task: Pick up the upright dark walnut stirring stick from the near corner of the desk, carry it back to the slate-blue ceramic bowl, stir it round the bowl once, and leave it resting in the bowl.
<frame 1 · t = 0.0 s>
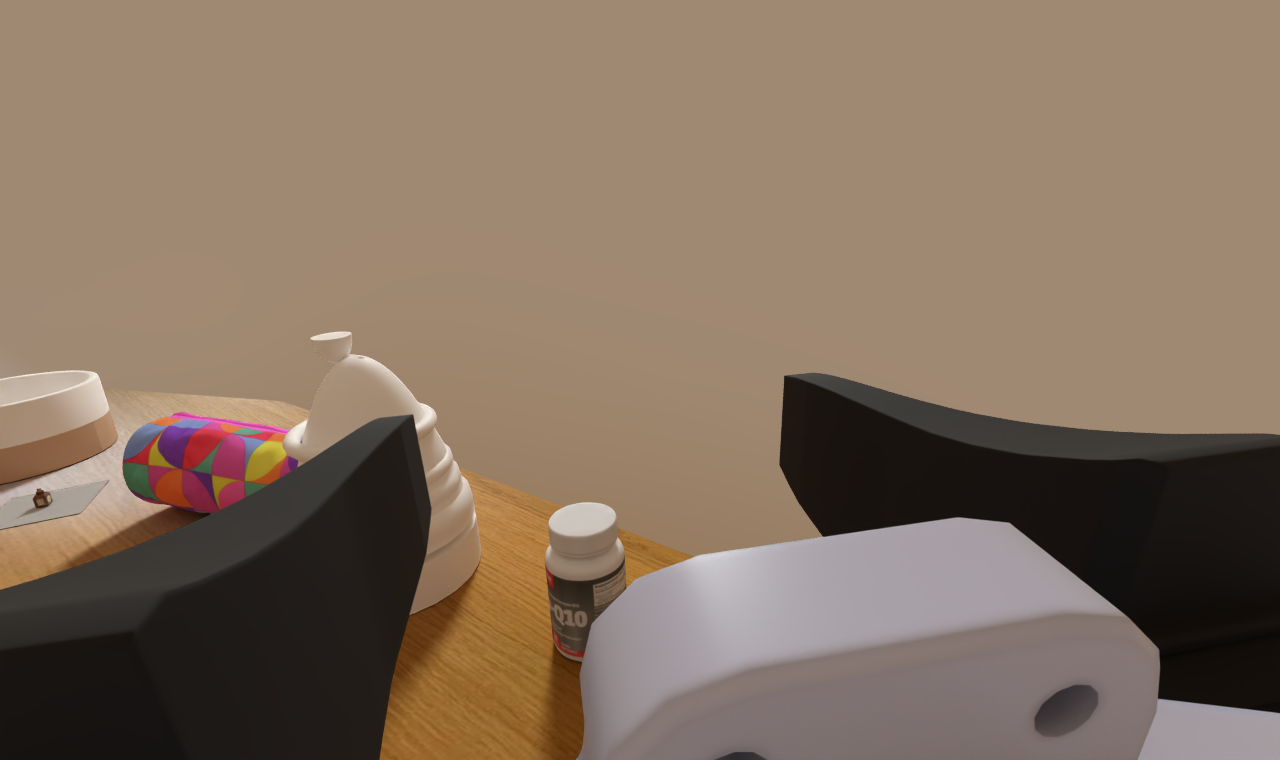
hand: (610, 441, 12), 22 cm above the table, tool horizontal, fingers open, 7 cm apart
honey pot: (395, 570, 46), on the table
grey flat square sheet: (45, 507, 60), on the table
bowl: (26, 459, 72), on the table
pill bottle: (592, 639, 38), on the table
pencil case: (263, 512, 56), on the table
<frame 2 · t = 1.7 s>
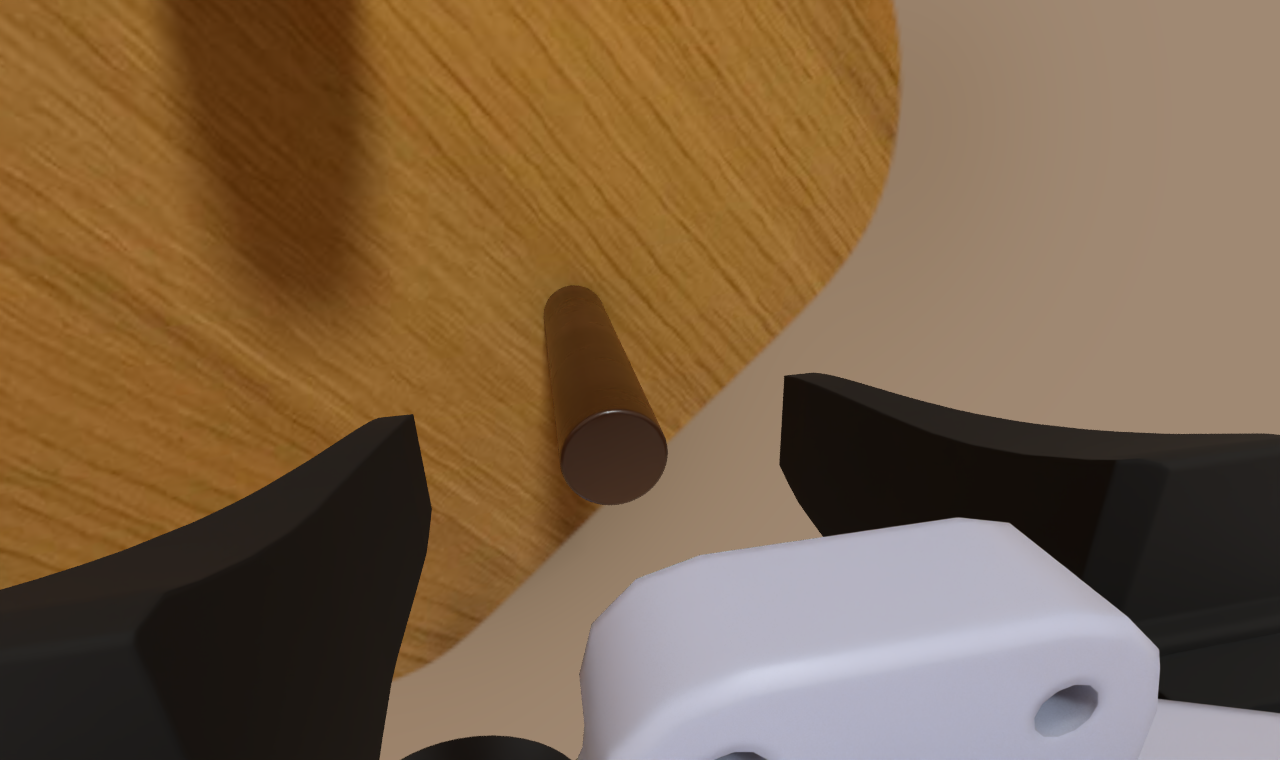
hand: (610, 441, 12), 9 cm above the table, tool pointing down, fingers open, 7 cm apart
stirring stick: (574, 314, 20), on the table
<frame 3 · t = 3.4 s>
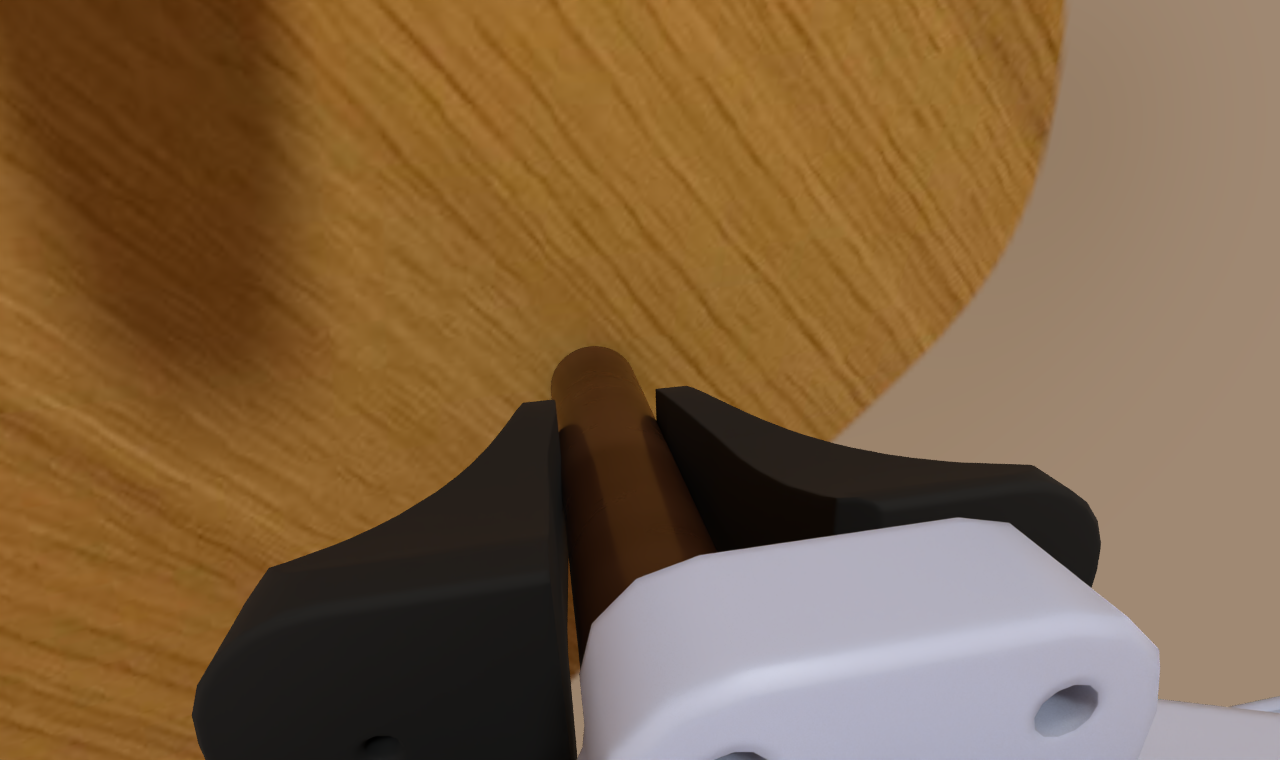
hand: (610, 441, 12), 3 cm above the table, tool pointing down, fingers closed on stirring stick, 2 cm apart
stirring stick: (593, 385, 14), on the table, touching gripper
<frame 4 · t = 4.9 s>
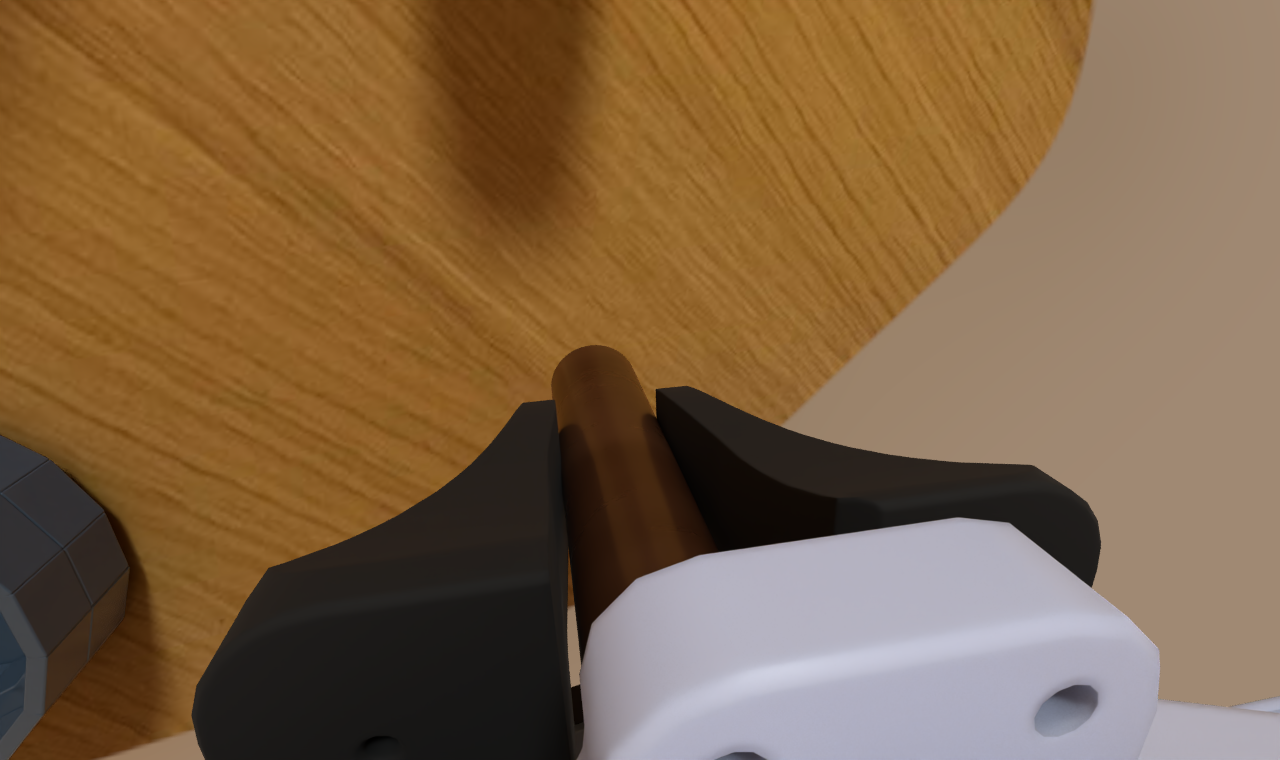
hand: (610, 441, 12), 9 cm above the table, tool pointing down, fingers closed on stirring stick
stirring stick: (593, 384, 14), point 6 cm above the table, touching gripper
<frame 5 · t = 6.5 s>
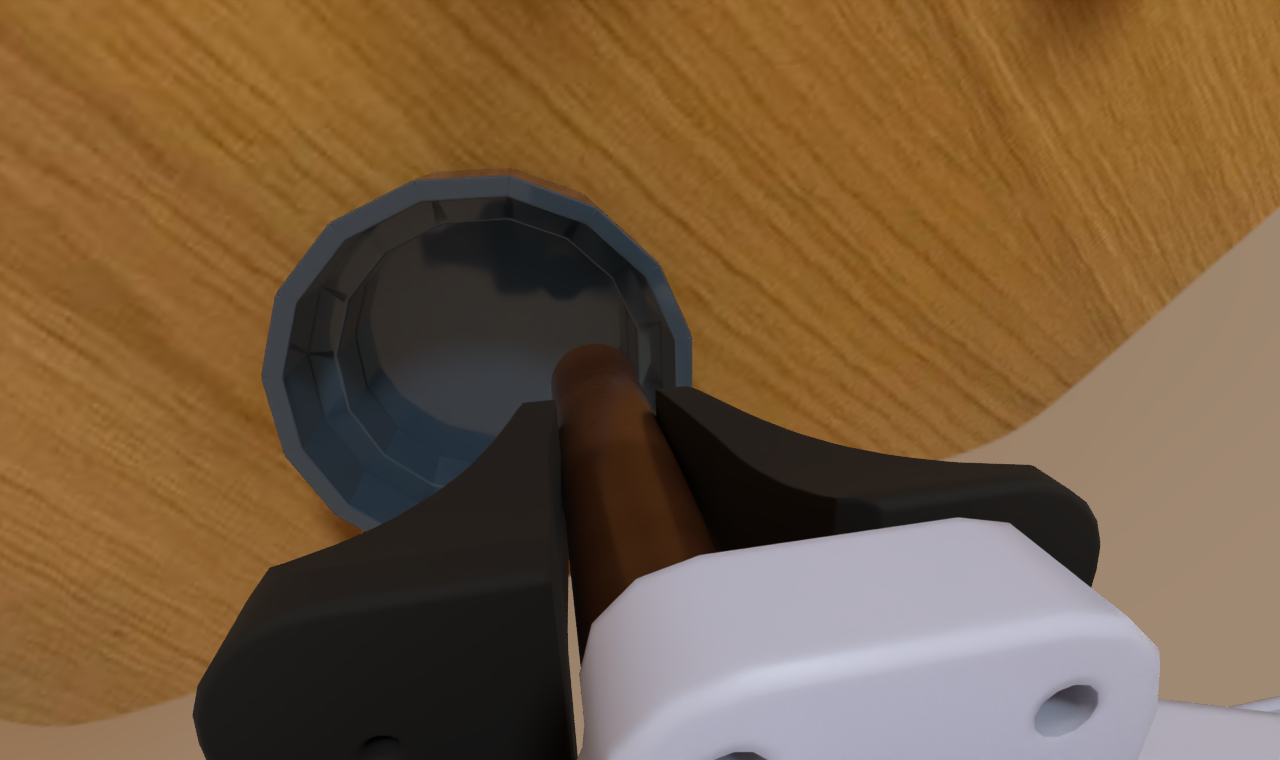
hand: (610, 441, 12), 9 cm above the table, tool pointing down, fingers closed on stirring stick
mixing bowl: (499, 342, 20), on the table
stirring stick: (593, 382, 14), point 7 cm above the table, touching gripper
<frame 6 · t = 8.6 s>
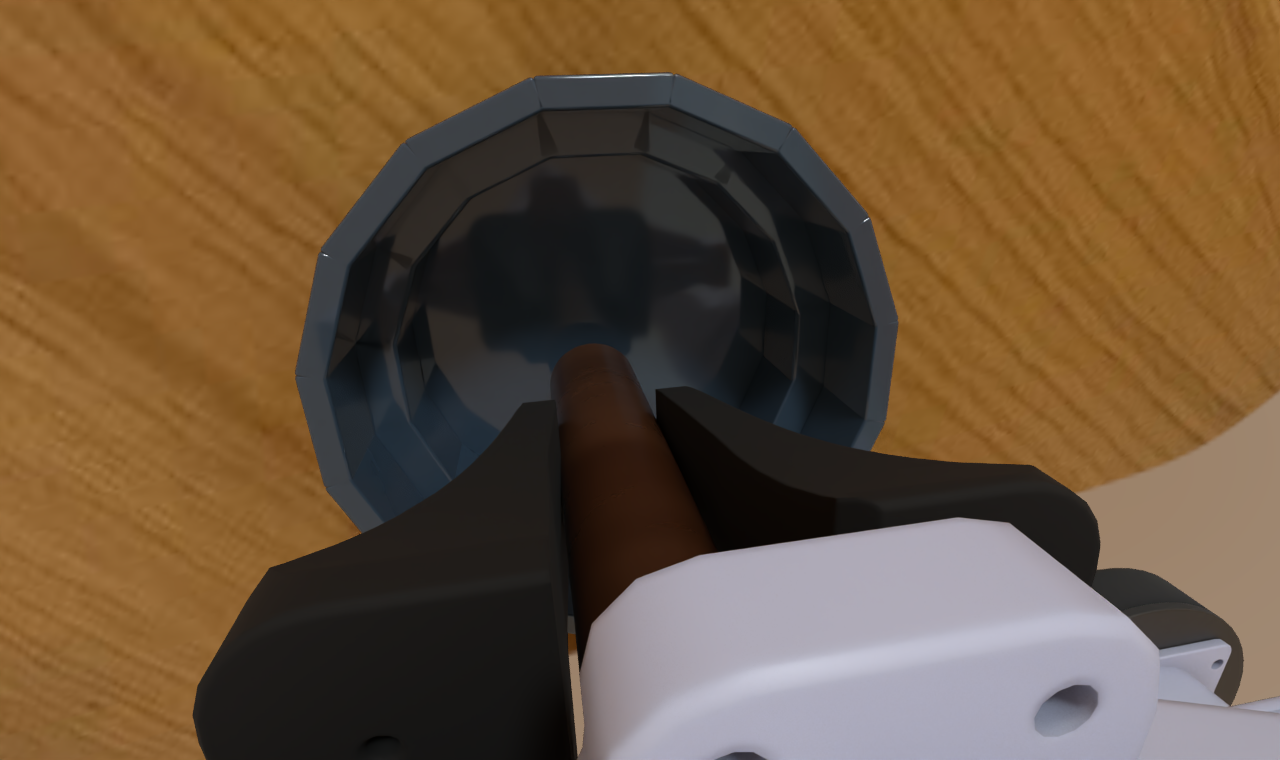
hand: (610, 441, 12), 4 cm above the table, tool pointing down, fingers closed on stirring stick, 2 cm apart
mixing bowl: (595, 331, 15), on the table
stirring stick: (592, 382, 14), point 1 cm above the table, touching gripper
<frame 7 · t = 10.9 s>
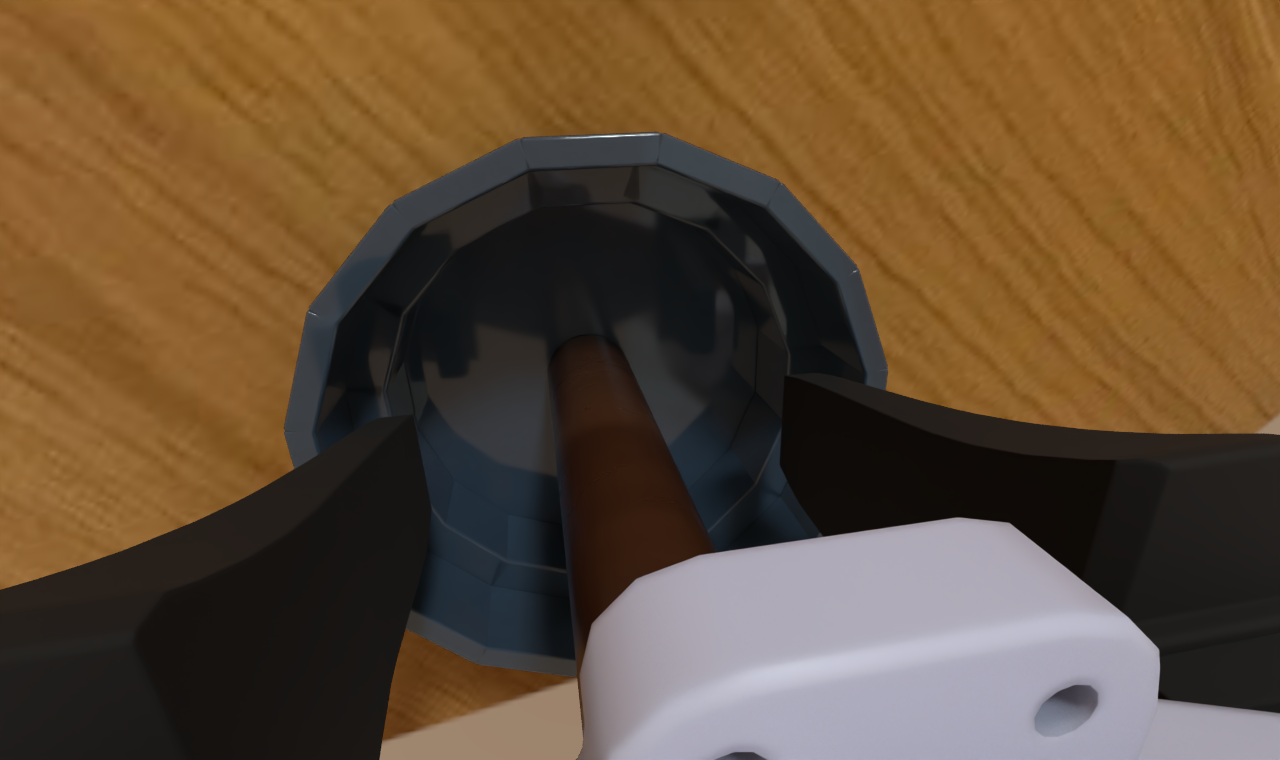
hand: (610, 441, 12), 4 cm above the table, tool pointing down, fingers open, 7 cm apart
mixing bowl: (588, 367, 15), on the table
stirring stick: (588, 373, 15), point 1 cm above the table, touching mixing bowl
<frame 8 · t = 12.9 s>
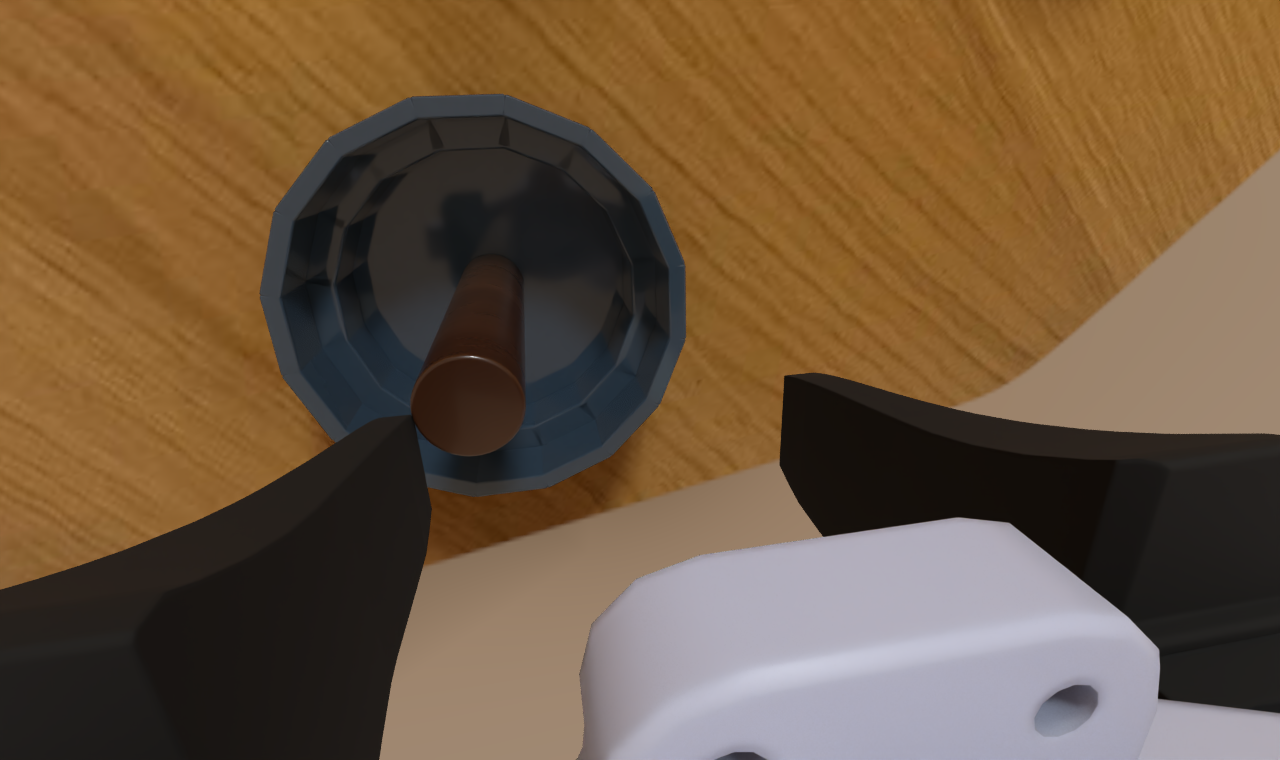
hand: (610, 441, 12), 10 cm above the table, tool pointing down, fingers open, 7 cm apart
mixing bowl: (495, 282, 21), on the table
stirring stick: (492, 284, 20), point 1 cm above the table, touching gripper, mixing bowl
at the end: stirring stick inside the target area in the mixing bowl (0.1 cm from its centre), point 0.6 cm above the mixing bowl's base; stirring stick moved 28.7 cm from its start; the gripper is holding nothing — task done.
